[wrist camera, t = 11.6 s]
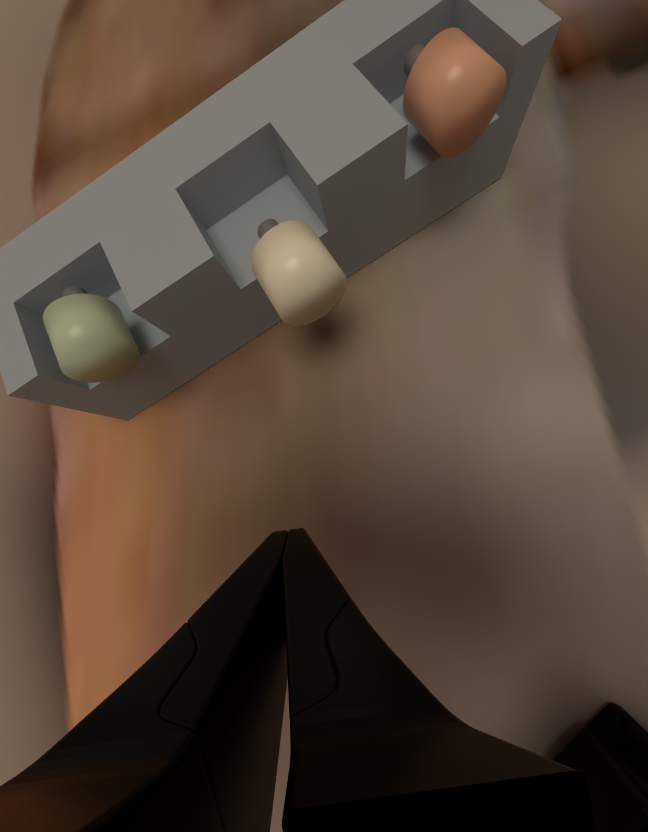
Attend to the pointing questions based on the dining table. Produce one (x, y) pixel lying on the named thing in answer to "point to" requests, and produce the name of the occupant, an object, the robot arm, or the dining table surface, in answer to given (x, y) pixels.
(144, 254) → the block
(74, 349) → the pale green rounded cylinder
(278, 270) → the cream button
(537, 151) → the dining table surface
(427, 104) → the terracotta button
